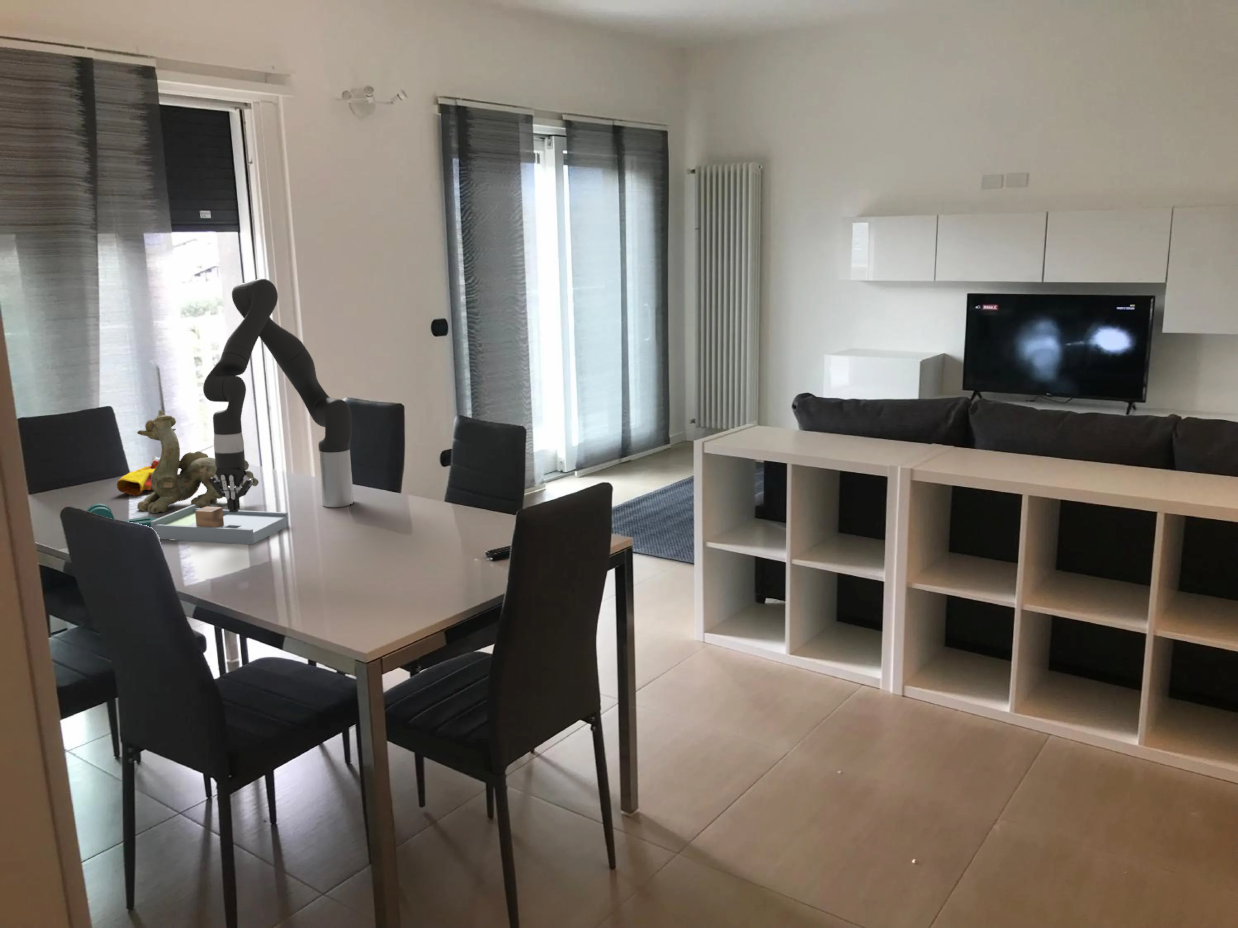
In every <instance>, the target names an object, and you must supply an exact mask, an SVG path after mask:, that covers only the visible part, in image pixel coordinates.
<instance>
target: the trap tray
mask: <svg viewBox="0 0 1238 928" xmlns="http://www.w3.org/2000/svg"><path fill="white" fill-rule="evenodd" d="M199 509H201V508H196V505H191V504H190V505H189V506H186V507H184V508H181V509H179V510H177V511H174V512H171V513H168V514H166V515H163V516H161V517H157V518H158V519H155V520H153V521H151V527H152V528H153V529H154V530H155V531H156V532H157V534H158V535H159V537H160V539H175V540H174V541H178V540H185V542H198V543H201V542H202V543H214V542H215V544H217V543H219V544H235V545H249V546H250V545H254V544H256V543H257V542H260V541H262V540H264V539H266V538H268V537H269V536H271V535H274V534H276V533H277V532H280V531H282V530H284V529H285V528H287V527H289V515H288V512H284V511H263V510H259V511H258V510H240V509H239V510H238V512H235V513H233V512H229V510H228V509H225V508H224V509H223V508H222V509H223V520H224V525H222V526H220V527H201V526H196V515H195V511H196V510H199ZM160 539H159V540H160Z"/></svg>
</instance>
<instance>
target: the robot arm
mask: <svg viewBox="0 0 1238 928" xmlns="http://www.w3.org/2000/svg"><path fill="white" fill-rule="evenodd" d="M231 297H232V302H233V305H234V306H235V308H236V310H237V311H238V313H239V314H240V315H241V317H243V320H241V322H240V323H239V325H238V326H237V327H236V328H235V329H234V330H233V332H232V333H231V334H230V335H229V337H228V339H227V341H226V343H225V345H224V347H223V349H222V352H221V353H222V354H221V356H220V359H219V360H218V362H217V363H216V364H215V365H214V367H213V368H212V370H211V371H210V372H209V373H208V374H207V376H206V378H205V379H204V382H203V386H202V390H203V394H204V397H205V398H206V400H208V401H209V402H212V403H213V402H214V403H215V402H216V403H217V402H218V403H227V404H228V405H227V407H226V409H223V410H218V411H216V412H214V413H213V416H212V423H213V425H212V426H213V450H214V458H215V466H216V467H217V470H216V475H215V476H214V477H212V478H210V479H209V482H210V483H211V485H212V486H213V487H214V489H215V490H216V491H217V493H218V494H219V495H220V496H221V497H222V496H223V498H225V499H226V506H227V507H226V508H227V510H229V512H233V513H235V512H238V510H240V508H241V506H240V504H241V503H240V498H242V497H244V496H246V495H247V493H248V492H249V491H250V489H251V488H252V486H253V484H254V482H255V480H254V479H253V478H252V479H250V478H249V477H248V476H247V473H246V471H247V470H246V471H245V460H246V457H245V442H244V437H243V429H242V413H243V408H244V407H243V406H244V403H245V398H246V393H247V388H246V387H247V386H246V383H245V381H244V380H243V378H241V377H240V376H241V375H243V374H244V373H245V372H246V370H247V368H248V364H249V362H250V359H251V356H252V354H253V350H254V347H255V346H256V343H257V341H258V339H259V338H260V340H261V341H262V343H263V344H264V345H265V347H266V348H267V349H268V351H269V352H270V354H271V356H272V357H273V358H274V360H275V362H276V363H277V364H278V366H279V368H280V369H281V370H282V372H283V373H284V375H285V376H286V377H287V379H288V381H289V382H290V384H291V385H292V386H293V389H295V390H296V392H297V393H298V395H299V396H300V398H301V400H302V402H303V403H304V406H305V407H306V410H307V412H308V413H309V415H310V417H311V419H312V420H313V421H314V422H315V424H316V425H317V426H320V427H321V428H322V427H323V428H324V431H325V432H324V438H322V439H321V440H319V442H318V457H319V459H318V460H319V469H320V471H319V473H320V474H319V475H320V486H321V487H320V489H321V505H322V506H323V507H326V508H342V507H347V506H350V504H351V505H352V504H353V503H354V491H353V490H354V489H353V474H352V462H351V447H350V446H351V444H350V443H351V441H352V437H353V432H352V429H353V428H352V423H353V422H352V419H353V418H352V411H351V408H350V407H351V406H349V405H350V404H349V403H348V402H346V401H345V400H344V399H340V398H335V397H334V398H333V397H331V396H329V395H328V393H327V391H325V390H324V388H323V387H322V385H321V384H320V382H319V380H318V377H317V374H316V373H317V371H316V367H315V361H314V359H313V357H312V356H311V354H310V352H309V351H308V349H307V347H306V346H305V344H304V343H303V342H302V341H301V339H299V338H298V337H297V336H295V335H294V334H293V333H291V331H288V330H286V329H285V328H283V327H281V325H279V324H278V323H276V322H275V321H274V320H273V319H272V318H271V315H272V313H273V311H274V310H275V309H276V307H277V304H278V299H279V294H278V290H277V288H276V286H275V284H274V283H273V282H272V281H270V280H269V279H266V278H259V279H254V280H250V281H247V282H241V283H239V284H236V285H235V286H233V288H232V292H231ZM243 480H244V481H243ZM220 481H221V482H220ZM242 482H243V484H244V485H243V486H242V487H241V483H242Z"/></svg>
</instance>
